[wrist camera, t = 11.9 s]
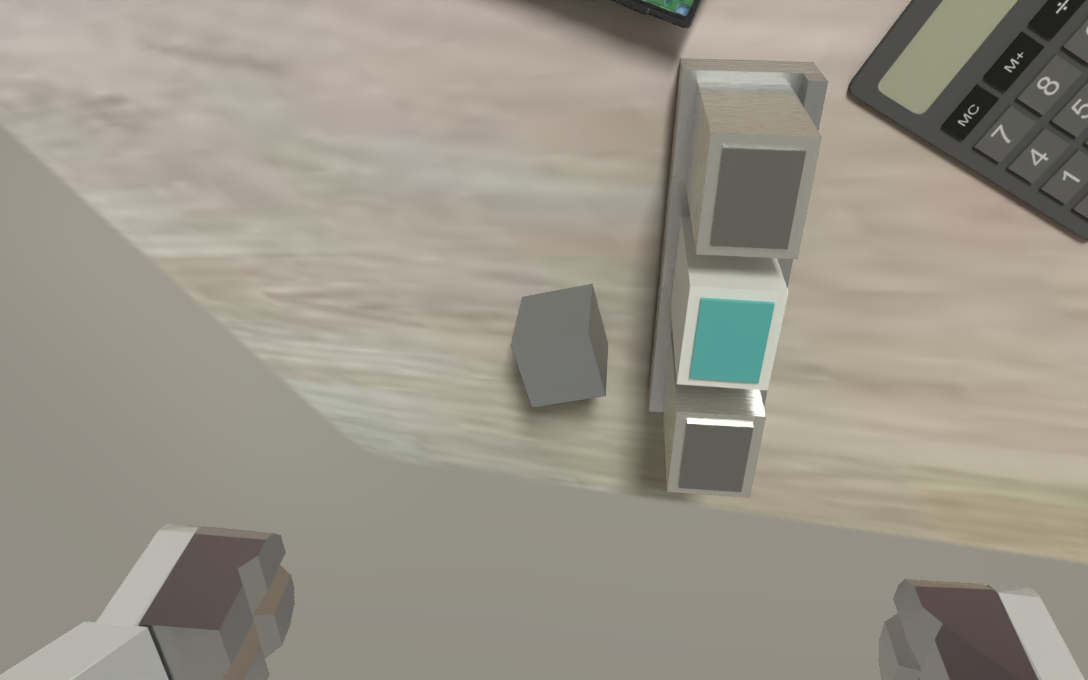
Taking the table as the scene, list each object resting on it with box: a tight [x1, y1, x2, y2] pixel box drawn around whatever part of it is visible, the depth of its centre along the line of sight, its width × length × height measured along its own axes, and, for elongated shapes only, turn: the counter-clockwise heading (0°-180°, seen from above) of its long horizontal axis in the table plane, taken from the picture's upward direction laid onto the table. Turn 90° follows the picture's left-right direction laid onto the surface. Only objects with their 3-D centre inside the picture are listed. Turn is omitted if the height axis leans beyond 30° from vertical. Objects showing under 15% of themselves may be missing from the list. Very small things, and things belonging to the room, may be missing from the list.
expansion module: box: [670, 217, 789, 390], centre depth 37 cm, size 4×5×7 cm
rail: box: [649, 59, 828, 498], centre depth 38 cm, size 6×19×9 cm, turn 0°
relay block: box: [511, 284, 608, 407], centre depth 43 cm, size 4×4×5 cm
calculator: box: [849, 0, 1088, 240], centre depth 35 cm, size 12×1×15 cm
